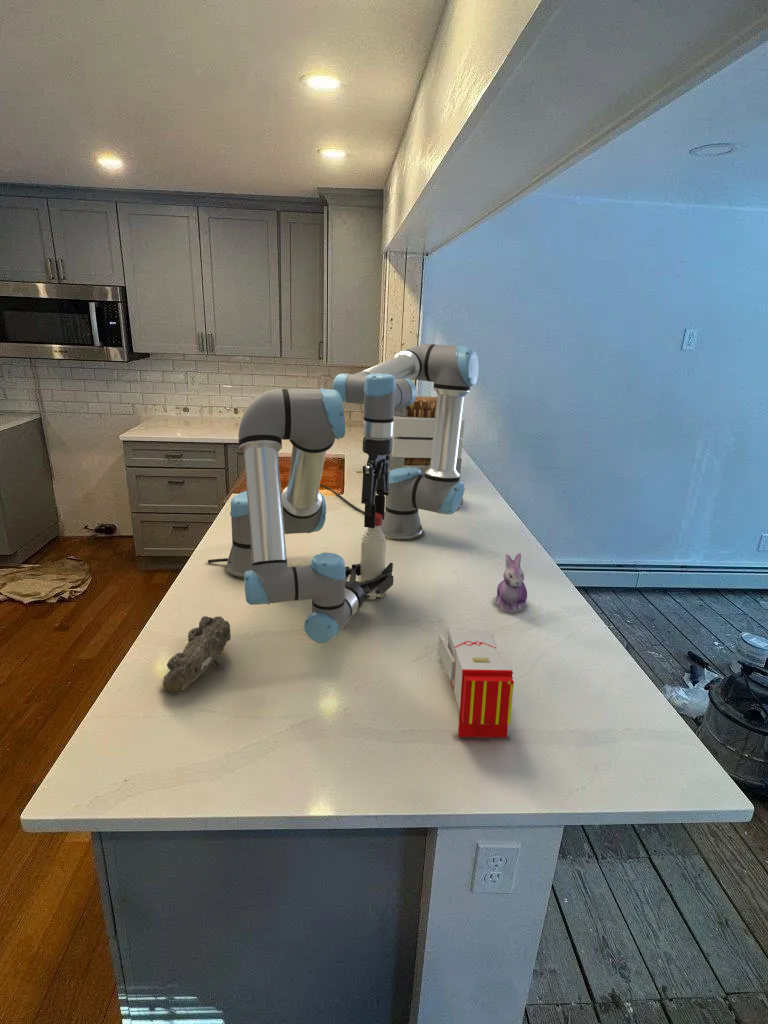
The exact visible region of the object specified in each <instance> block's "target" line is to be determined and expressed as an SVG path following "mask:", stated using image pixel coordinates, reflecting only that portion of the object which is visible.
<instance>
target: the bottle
mask: <svg viewBox="0 0 768 1024" xmlns="http://www.w3.org/2000/svg"><path fill="white" fill-rule="evenodd" d="M386 551H387V537H385V535H384V533H383V532H382V530H381V528H380V526H375V528H368V527H367V529H366V530H365V532H364V533H363V534H362V535H361V537H360V563H361V565H360V576H359V582H364V581H366V580H372V579H374V578H376V577H378V576H380V575H382V571H383V570H384V569H385V568H386V555H387V554H386ZM374 590H375V589H374ZM372 591H373V590H372ZM384 594H385V593H384ZM384 594H383V595H382V596H381V598H382V597H383V596H384ZM366 600H377V599H376V597H375V596H370V597H369V598H367V599H366Z"/></svg>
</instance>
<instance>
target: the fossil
mask: <svg viewBox="0 0 768 1024" xmlns="http://www.w3.org/2000/svg"><path fill="white" fill-rule="evenodd" d="M231 632H232V631H231V625H230V623H229V621H227V620H225V618H223V616H221V615H219V616H213V617H211V616H210V617H209V616H207V615H203V616H202V617H201V618H200V621H199V622H198V627H193V628H191V629H190V630H189V631H188V633H187V634H188V635H187V638H188V639H187V641H188V643H186V645H185V646H184V649H183V651H182V652H176V654H174V655H173V656H172V657H170V658H169V660H168V662H167V663H166V667H167V668H168V670H169V671H168V672H167V673H166V675H164V676H163V680H162V686H163V690H164V691H168V692H170V693H172V692H178V691H183V690H186V688H188V686H189V685H191V684H192V683H193V682H195V681H196V680H197V678H198V677H200V676H201V675H202V674H203V673H205V672H206V671H207V669H208V667H209V665H211V664H212V663H214V664H215V665H216V666H217V667H218V668H220V667H221V664H219V662H218V661H217V660H216V658H217V657H218V656H219V655H221V654H222V653H223V652H224V650H225V647H226V646H227V644H228V642H229V641H230V640H231V639H232V637H231V636H232V635H231Z"/></svg>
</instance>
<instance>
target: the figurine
mask: <svg viewBox="0 0 768 1024" xmlns="http://www.w3.org/2000/svg"><path fill="white" fill-rule="evenodd" d="M511 557H512V556H511V555H509V553H505V555H504V559H505V560H504V561H505V569H504V571H503V580H502V581H500V582H499V583H498V585H497V589H496V597H495V603H496V606H497V607H499V609H500V610H501V611H502V612H505V613H512V614H513V613H517V612H519V611H522V610H523V609H524V608H525V605H526V602H527V599H528V590H527V586H526V584H525V582H524V580H525V574H524V571H523V569H522V567H521V562H522V561H521V560H522V553H521V552H518V553H516V554H515V557H514V559H512V558H511Z"/></svg>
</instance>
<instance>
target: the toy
mask: <svg viewBox="0 0 768 1024" xmlns="http://www.w3.org/2000/svg"><path fill="white" fill-rule="evenodd" d="M446 640H447V643H446V641H445V639H444V636H443V635H442V634H439V637H438V646H437V656H438V657H439V659H440V661H441V663H442V666H443V668H444V670H445V672H446V674H447V677H448V679H449V681H450V684H451V687H452V690H453V693H454V697H455V701H456V705H457V708H458V711H459V714H458V715H459V716H458V730H457V731H458V732H457V737H458V738H508V731H509V726H510V725H511V717H512V707H513V697H514V696H513V695H514V684H515V680H514V679H513V673H514V671H513V670H512V669H508V667H507V665H506V662H505V661H504V659H503V658H502V655H501V653H500V651H499V649H498V647H497V643H496V639H495V637H494V635H493V634H491V632H490V631H489V629H467V628H466V629H465V628H463V629H461V628H460V629H459V628H448V630H447V639H446Z"/></svg>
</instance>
